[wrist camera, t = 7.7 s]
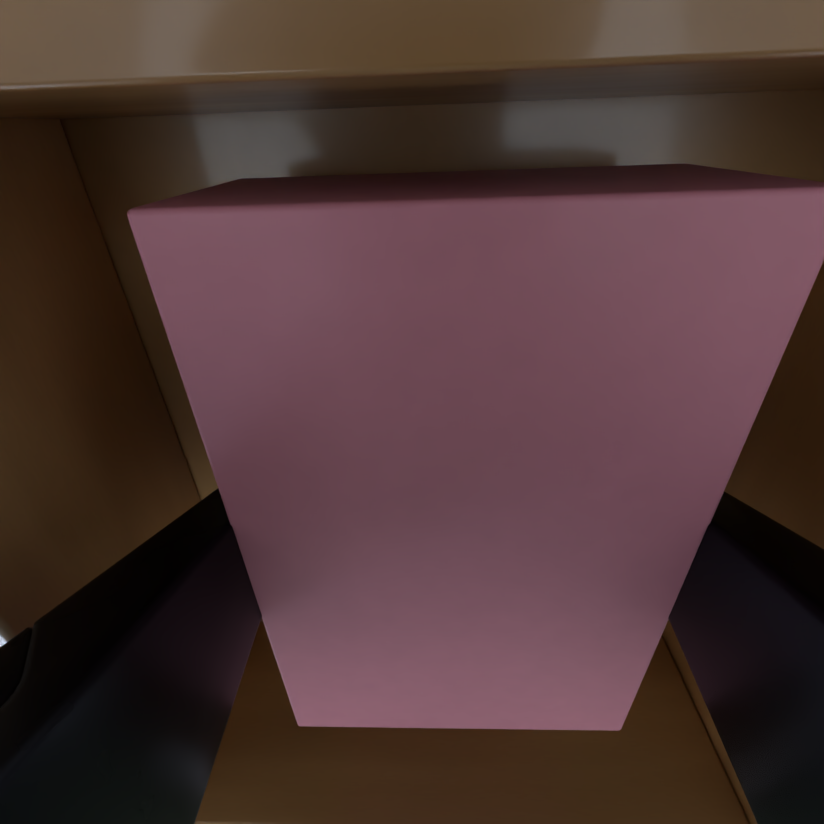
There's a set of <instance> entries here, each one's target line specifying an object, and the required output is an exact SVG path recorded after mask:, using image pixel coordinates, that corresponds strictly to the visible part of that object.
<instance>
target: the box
mask: <svg viewBox="0 0 824 824" xmlns="http://www.w3.org/2000/svg"><path fill="white" fill-rule="evenodd" d="M683 163H686V164H693V165H701V166H708V167H715V168H723V169H730V170H737V171H745V172H752V173H759V174H767V175H774V176H781V177H789V178H796V179H803V180H811V181H818V182H824V0H0V647H1V646H2V645H4V644H5V643H7V642H8V641H9V640H11V639H12V638H13V637H15V636H16V635H18V634H19V633H20V632H22V631H23V630H24V629H26V628H28V627H33V625H34V623H35V622H36V621H37V620H38V619H40V618H41V617H42V616H44V615H45V614H46V613H48V612H49V611H51V610H52V609H53V608H55V607H56V606H57V605H59V604H60V603H62V602H63V601H64V600H66V599H67V598H68V597H70V596H71V595H72V594H74V593H75V592H77V591H78V590H79V589H81V588H82V587H83V586H85V585H86V584H88V583H89V582H90V581H92V580H93V579H94V578H96V577H97V576H99V575H100V574H101V573H103V572H104V571H105V570H107V569H108V568H109V567H111V566H112V565H114V564H115V563H116V562H118V561H119V560H120V559H122V558H123V557H124V556H126V555H127V554H129V553H130V552H131V551H133V550H134V549H135V548H137V547H138V546H140V545H141V544H142V543H144V542H145V541H146V540H148V539H149V538H150V537H152V536H153V535H155V534H156V533H157V532H159V531H160V530H161V529H163V528H164V527H166V526H167V525H168V524H170V523H171V522H172V521H174V520H175V519H176V518H178V517H179V516H181V515H182V514H183V513H185V512H186V511H187V510H189V509H190V508H192V507H193V506H194V505H196V504H197V503H198V502H200V501H201V500H202V499H204V498H205V497H207V496H208V495H209V494H211V493H212V492H213V491H215V490H216V489H217V488H218V486H217V483H216V480H215V477H214V474H213V471H212V468H211V465H210V462H209V459H208V456H207V453H206V450H205V447H204V444H203V441H202V438H201V435H200V432H199V429H198V426H197V423H196V420H195V417H194V414H193V411H192V408H191V405H190V402H189V399H188V396H187V393H186V390H185V387H184V384H183V381H182V378H181V375H180V372H179V369H178V366H177V363H176V360H175V357H174V354H173V352H172V349H171V346H170V343H169V340H168V337H167V334H166V331H165V328H164V325H163V322H162V319H161V316H160V313H159V310H158V307H157V304H156V301H155V298H154V295H153V292H152V289H151V286H150V283H149V280H148V277H147V274H146V271H145V268H144V265H143V262H142V259H141V256H140V253H139V250H138V247H137V244H136V241H135V238H134V235H133V232H132V229H131V226H130V223H129V220H128V217H127V212H128V210H130V209H132V208H134V207H138V206H142V205H145V204H149V203H153V202H156V201H160V200H164V199H167V198H171V197H175V196H178V195H182V194H186V193H189V192H193V191H197V190H200V189H204V188H208V187H211V186H215V185H219V184H222V183H226V182H230V181H233V180H237V179H241V178H271V177H300V176H330V175H359V174H389V173H418V172H448V171H477V170H507V169H536V168H565V167H595V166H624V165H654V164H683ZM724 491H725V492H726V493H728V494H730V495H732V496H733V497H735V498H737V499H739V500H740V501H742V502H744V503H745V504H747V505H749V506H751V507H752V508H754V509H756V510H757V511H759V512H761V513H763V514H764V515H766V516H768V517H769V518H771V519H773V520H775V521H776V522H778V523H780V524H781V525H783V526H785V527H787V528H788V529H790V530H792V531H794V532H795V533H797V534H799V535H800V536H802V537H804V538H806V539H807V540H809V541H811V542H812V543H814V544H816V545H818V546H819V547H821V548H823V549H824V261H823V263H822V266H821V268H820V270H819V273H818V275H817V277H816V280H815V282H814V284H813V286H812V289H811V291H810V293H809V296H808V298H807V300H806V303H805V305H804V307H803V310H802V312H801V314H800V317H799V319H798V321H797V323H796V326H795V328H794V330H793V333H792V335H791V337H790V340H789V342H788V344H787V347H786V349H785V351H784V354H783V356H782V358H781V361H780V363H779V365H778V367H777V370H776V372H775V374H774V377H773V379H772V381H771V384H770V386H769V388H768V391H767V393H766V395H765V398H764V400H763V402H762V404H761V407H760V409H759V411H758V414H757V416H756V418H755V421H754V423H753V425H752V428H751V430H750V432H749V435H748V437H747V439H746V442H745V444H744V446H743V448H742V451H741V453H740V455H739V458H738V460H737V462H736V465H735V467H734V469H733V472H732V474H731V476H730V479H729V481H728V483H727V485H726V488H725V490H724ZM195 824H757V821H756V819H755V817H754V814H753V812H752V810H751V808H750V805H749V803H748V801H747V798H746V796H745V794H744V791H743V789H742V787H741V785H740V782H739V780H738V778H737V775H736V773H735V771H734V768H733V766H732V764H731V761H730V759H729V757H728V755H727V752H726V750H725V748H724V745H723V743H722V741H721V738H720V736H719V734H718V731H717V729H716V727H715V725H714V722H713V720H712V718H711V715H710V713H709V711H708V708H707V706H706V704H705V702H704V699H703V697H702V695H701V692H700V690H699V688H698V685H697V683H696V681H695V678H694V676H693V674H692V672H691V669H690V667H689V665H688V662H687V660H686V658H685V655H684V653H683V651H682V649H681V646H680V644H679V642H678V639H677V637H676V635H675V632H674V630H673V628H672V625H671V623H670V621H669V620H668V622H667V624H666V627H665V629H664V631H663V634H662V636H661V638H660V641H659V643H658V645H657V647H656V650H655V652H654V654H653V657H652V659H651V661H650V664H649V666H648V668H647V671H646V673H645V675H644V678H643V680H642V682H641V684H640V687H639V689H638V691H637V694H636V696H635V698H634V701H633V703H632V705H631V708H630V710H629V712H628V715H627V717H626V719H625V722H624V724H623V726H622V728H621V730H619V731H608V730H534V729H460V728H386V727H312V726H298V724H297V721H296V718H295V716H294V713H293V710H292V707H291V704H290V701H289V698H288V695H287V692H286V689H285V686H284V683H283V680H282V677H281V674H280V671H279V668H278V665H277V662H276V659H275V656H274V653H273V650H272V647H271V644H270V641H269V638H268V635H267V632H266V629H265V626H264V623H263V620H262V617H261V620H260V624H259V627H258V630H257V633H256V636H255V639H254V642H253V645H252V648H251V651H250V654H249V657H248V660H247V664H246V667H245V670H244V673H243V676H242V679H241V682H240V685H239V688H238V691H237V694H236V697H235V700H234V704H233V707H232V710H231V713H230V716H229V719H228V722H227V725H226V728H225V731H224V734H223V737H222V740H221V744H220V747H219V750H218V753H217V756H216V759H215V762H214V765H213V768H212V771H211V774H210V777H209V780H208V784H207V787H206V790H205V793H204V796H203V799H202V802H201V805H200V808H199V811H198V814H197V817H196V820H195Z"/></svg>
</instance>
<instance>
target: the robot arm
mask: <svg viewBox="0 0 824 824" xmlns="http://www.w3.org/2000/svg"><path fill="white" fill-rule="evenodd" d="M261 617H262V615H261V612H260V609H259V606H258V603H257V600H256V597H255V594H254V591H253V588H252V584H251V581H250V578H249V575H248V572H247V569H246V566H245V563H244V560H243V557H242V554H241V551H240V548H239V545H238V542H237V539H236V536H235V533H234V530H233V528H232V526H231V525H230V522H229V519H228V516H227V513H226V510H225V507H224V504H223V501H222V498H221V495H220V492H219V489H218V488H217V489H216V490H215V491H213V492H212V493H211V494H209V495H208V496H207V497H205V498H204V499H202V500H201V501H200V502H198V503H197V504H196V505H194V506H193V507H192V508H190V509H189V510H187V511H186V512H185V513H183V514H182V515H181V516H179V517H178V518H176V519H175V520H174V521H172V522H171V523H170V524H168V525H167V526H166V527H164V528H163V529H161V530H160V531H159V532H157V533H156V534H155V535H153V536H152V537H150V538H149V539H148V540H146V541H145V542H144V543H142V544H141V545H140V546H138V547H137V548H135V549H134V550H133V551H131V552H130V553H129V554H127V555H126V556H124V557H123V558H122V559H120V560H119V561H118V562H116V563H115V564H114V565H112V566H111V567H109V568H108V569H107V570H105V571H104V572H103V573H101V574H100V575H99V576H97V577H96V578H94V579H93V580H92V581H90V582H89V583H88V584H86V585H85V586H83V587H82V588H81V589H79V590H78V591H77V592H75V593H74V594H72V595H71V596H70V597H68V598H67V599H66V600H64V601H63V602H62V603H60V604H59V605H57V606H56V607H55V608H53V609H52V610H51V611H49V612H48V613H46V614H45V615H44V616H42V617H41V618H40V619H38V620H37V621H36V622H35V623H34V625H33V627H28V628H26V629H24V630H23V631H22V632H20V633H19V634H18V635H16V636H15V637H13V638H12V639H11V640H9V641H8V642H7V643H5V644H4V645H2V646H1V647H0V824H195V820H196V817H197V814H198V811H199V808H200V805H201V802H202V799H203V796H204V793H205V790H206V787H207V784H208V780H209V777H210V774H211V771H212V768H213V765H214V762H215V759H216V756H217V753H218V750H219V747H220V744H221V740H222V737H223V734H224V731H225V728H226V725H227V722H228V719H229V716H230V713H231V710H232V707H233V704H234V700H235V697H236V694H237V691H238V688H239V685H240V682H241V679H242V676H243V673H244V670H245V667H246V664H247V660H248V657H249V654H250V651H251V648H252V645H253V642H254V639H255V636H256V633H257V630H258V627H259V624H260V620H261ZM668 619H669V621H670V623H671V625H672V628H673V630H674V632H675V635H676V637H677V639H678V642H679V644H680V646H681V649H682V651H683V653H684V655H685V658H686V660H687V662H688V665H689V667H690V669H691V672H692V674H693V676H694V678H695V681H696V683H697V685H698V688H699V690H700V692H701V695H702V697H703V699H704V702H705V704H706V706H707V708H708V711H709V713H710V715H711V718H712V720H713V722H714V725H715V727H716V729H717V731H718V734H719V736H720V738H721V741H722V743H723V745H724V748H725V750H726V752H727V755H728V757H729V759H730V761H731V764H732V766H733V768H734V771H735V773H736V775H737V778H738V780H739V782H740V785H741V787H742V789H743V791H744V794H745V796H746V798H747V801H748V803H749V805H750V808H751V810H752V812H753V814H754V817H755V819H756V821H757V824H824V549H823V548H821V547H819V546H818V545H816V544H814V543H812V542H811V541H809V540H807V539H806V538H804V537H802V536H800V535H799V534H797V533H795V532H794V531H792V530H790V529H788V528H787V527H785V526H783V525H781V524H780V523H778V522H776V521H775V520H773V519H771V518H769V517H768V516H766V515H764V514H763V513H761V512H759V511H757V510H756V509H754V508H752V507H751V506H749V505H747V504H745V503H744V502H742V501H740V500H739V499H737V498H735V497H733V496H732V495H730V494H728V493H726V492H725V491H724V492H723V495H722V497H721V499H720V502H719V504H718V506H717V509H716V511H715V513H714V516H713V518H712V520H711V523H710V524H709V525H708V527H707V529H706V531H705V534H704V536H703V538H702V541H701V543H700V545H699V548H698V550H697V552H696V555H695V557H694V559H693V562H692V564H691V566H690V569H689V571H688V573H687V576H686V578H685V580H684V583H683V585H682V587H681V589H680V592H679V594H678V596H677V599H676V601H675V603H674V606H673V608H672V610H671V613H670V615H669V618H668Z"/></svg>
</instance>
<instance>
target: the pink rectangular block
mask: <svg viewBox="0 0 824 824" xmlns="http://www.w3.org/2000/svg"><path fill="white" fill-rule="evenodd" d="M127 217H128V220H129V223H130V226H131V229H132V232H133V235H134V238H135V241H136V244H137V247H138V250H139V253H140V256H141V259H142V262H143V265H144V268H145V271H146V274H147V277H148V280H149V283H150V286H151V289H152V292H153V295H154V298H155V301H156V304H157V307H158V310H159V313H160V316H161V319H162V322H163V325H164V328H165V331H166V334H167V337H168V340H169V343H170V346H171V349H172V352H173V354H174V357H175V360H176V363H177V366H178V369H179V372H180V375H181V378H182V381H183V384H184V387H185V390H186V393H187V396H188V399H189V402H190V405H191V408H192V411H193V414H194V417H195V420H196V423H197V426H198V429H199V432H200V435H201V438H202V441H203V444H204V447H205V450H206V453H207V456H208V459H209V462H210V465H211V468H212V471H213V474H214V477H215V480H216V483H217V486H218V489H219V492H220V495H221V498H222V501H223V504H224V507H225V510H226V513H227V516H228V519H229V522H230V525H231V526H232V528H233V530H234V533H235V536H236V539H237V542H238V545H239V548H240V551H241V554H242V557H243V560H244V563H245V566H246V569H247V572H248V575H249V578H250V581H251V584H252V588H253V591H254V594H255V597H256V600H257V603H258V606H259V609H260V612H261V615H262V620H263V623H264V626H265V629H266V632H267V635H268V638H269V641H270V644H271V647H272V650H273V653H274V656H275V659H276V662H277V665H278V668H279V671H280V674H281V677H282V680H283V683H284V686H285V689H286V692H287V695H288V698H289V701H290V704H291V707H292V710H293V713H294V716H295V718H296V721H297V724H298V726H312V727H386V728H460V729H534V730H608V731H619V730H621V728H622V726H623V724H624V722H625V719H626V717H627V715H628V712H629V710H630V708H631V705H632V703H633V701H634V698H635V696H636V694H637V691H638V689H639V687H640V684H641V682H642V680H643V678H644V675H645V673H646V671H647V668H648V666H649V664H650V661H651V659H652V657H653V654H654V652H655V650H656V647H657V645H658V643H659V641H660V638H661V636H662V634H663V631H664V629H665V627H666V624H667V622H668V620H669V619H668V618H669V615H670V613H671V610H672V608H673V606H674V603H675V601H676V599H677V596H678V594H679V592H680V589H681V587H682V585H683V583H684V580H685V578H686V576H687V573H688V571H689V569H690V566H691V564H692V562H693V559H694V557H695V555H696V552H697V550H698V548H699V545H700V543H701V541H702V538H703V536H704V534H705V531H706V529H707V527H708V525H709V524H710V523H711V520H712V518H713V516H714V513H715V511H716V509H717V506H718V504H719V502H720V499H721V497H722V495H723V492H724V490H725V488H726V485H727V483H728V481H729V479H730V476H731V474H732V472H733V469H734V467H735V465H736V462H737V460H738V458H739V455H740V453H741V451H742V448H743V446H744V444H745V442H746V439H747V437H748V435H749V432H750V430H751V428H752V425H753V423H754V421H755V418H756V416H757V414H758V411H759V409H760V407H761V404H762V402H763V400H764V398H765V395H766V393H767V391H768V388H769V386H770V384H771V381H772V379H773V377H774V374H775V372H776V370H777V367H778V365H779V363H780V361H781V358H782V356H783V354H784V351H785V349H786V347H787V344H788V342H789V340H790V337H791V335H792V333H793V330H794V328H795V326H796V323H797V321H798V319H799V317H800V314H801V312H802V310H803V307H804V305H805V303H806V300H807V298H808V296H809V293H810V291H811V289H812V286H813V284H814V282H815V280H816V277H817V275H818V273H819V270H820V268H821V266H822V263H823V261H824V182H818V181H811V180H803V179H796V178H789V177H781V176H774V175H767V174H759V173H752V172H745V171H737V170H730V169H723V168H715V167H708V166H701V165H693V164H686V163H683V164H654V165H624V166H595V167H565V168H536V169H507V170H477V171H448V172H418V173H389V174H359V175H330V176H300V177H271V178H241V179H237V180H233V181H230V182H226V183H222V184H219V185H215V186H211V187H208V188H204V189H200V190H197V191H193V192H189V193H186V194H182V195H178V196H175V197H171V198H167V199H164V200H160V201H156V202H153V203H149V204H145V205H142V206H138V207H134V208H132V209H130V210H128V212H127Z"/></svg>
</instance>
